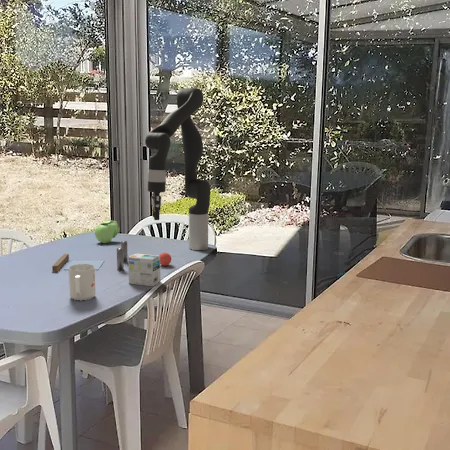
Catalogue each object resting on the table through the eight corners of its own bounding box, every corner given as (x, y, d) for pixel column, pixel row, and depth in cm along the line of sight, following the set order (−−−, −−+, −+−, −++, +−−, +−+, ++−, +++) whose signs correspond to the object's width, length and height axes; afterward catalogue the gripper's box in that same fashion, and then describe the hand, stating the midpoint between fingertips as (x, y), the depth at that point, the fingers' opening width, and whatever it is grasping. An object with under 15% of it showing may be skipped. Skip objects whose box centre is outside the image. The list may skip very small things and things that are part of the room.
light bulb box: (161, 282, 221) (160, 255, 219) (153, 287, 215) (153, 259, 213) (136, 279, 225) (135, 252, 222) (128, 283, 218) (127, 256, 216)
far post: (128, 260, 251) (127, 240, 250) (127, 262, 249) (126, 242, 247) (122, 260, 251) (121, 240, 249) (121, 262, 249) (120, 242, 247)
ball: (171, 263, 247) (171, 251, 246) (171, 267, 242) (170, 254, 241) (158, 263, 247) (158, 251, 246) (157, 267, 242) (157, 254, 240)
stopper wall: (68, 259, 253) (68, 253, 252) (57, 271, 233) (57, 266, 233) (64, 259, 253) (64, 253, 252) (52, 271, 233) (52, 266, 233)
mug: (73, 293, 206) (71, 263, 204) (97, 293, 206) (96, 263, 204) (64, 304, 194) (63, 273, 192) (91, 304, 195) (89, 273, 192)
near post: (124, 268, 239) (123, 247, 237) (123, 270, 236) (122, 249, 235) (117, 268, 239) (117, 247, 237) (116, 270, 236) (116, 249, 234)
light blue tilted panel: (104, 261, 250) (104, 260, 250) (98, 269, 237) (98, 269, 237) (71, 261, 250) (71, 260, 250) (64, 269, 236) (64, 269, 236)
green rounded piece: (108, 246, 278) (107, 224, 275) (91, 243, 283) (91, 221, 281) (125, 241, 288) (124, 220, 285) (108, 239, 293) (108, 218, 291)
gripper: (167, 182, 235) (166, 221, 237) (164, 179, 248) (163, 216, 251) (149, 181, 233) (148, 221, 236) (146, 179, 247) (145, 216, 249)
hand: (155, 218), depth 243 cm, fingers open, 8 cm apart
